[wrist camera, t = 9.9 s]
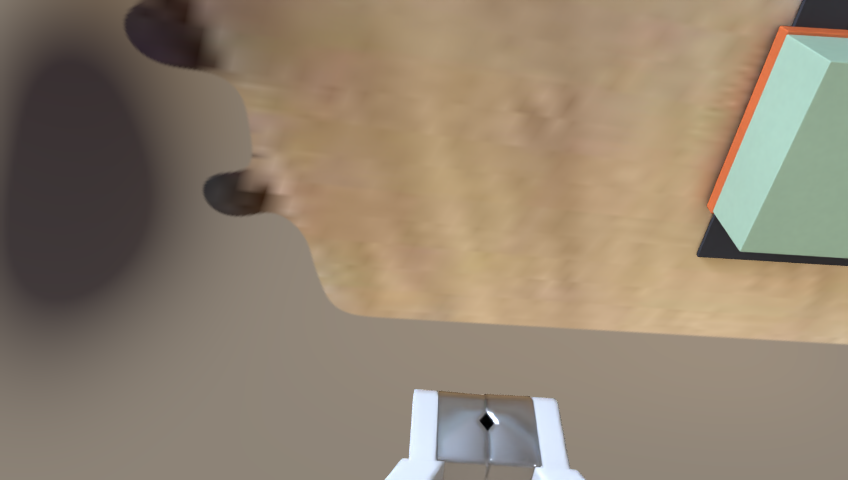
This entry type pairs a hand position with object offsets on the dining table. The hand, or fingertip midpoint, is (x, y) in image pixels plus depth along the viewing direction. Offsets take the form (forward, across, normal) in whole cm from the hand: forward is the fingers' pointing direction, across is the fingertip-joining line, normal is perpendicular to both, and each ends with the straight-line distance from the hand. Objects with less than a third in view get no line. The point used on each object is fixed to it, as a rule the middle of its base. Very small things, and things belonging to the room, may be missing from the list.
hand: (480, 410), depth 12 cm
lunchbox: (+24, -18, +4) cm, 30 cm away
